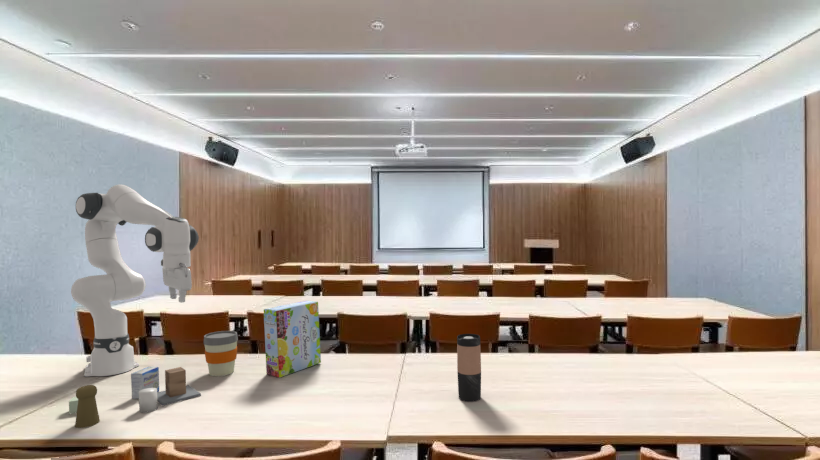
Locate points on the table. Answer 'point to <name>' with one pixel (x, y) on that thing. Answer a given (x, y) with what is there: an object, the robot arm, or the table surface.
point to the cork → (86, 407)
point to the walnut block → (175, 381)
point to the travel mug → (469, 367)
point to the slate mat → (165, 399)
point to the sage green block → (73, 405)
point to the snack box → (291, 337)
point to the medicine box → (144, 380)
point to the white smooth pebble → (148, 400)
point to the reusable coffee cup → (221, 352)
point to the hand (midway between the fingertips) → (177, 300)
